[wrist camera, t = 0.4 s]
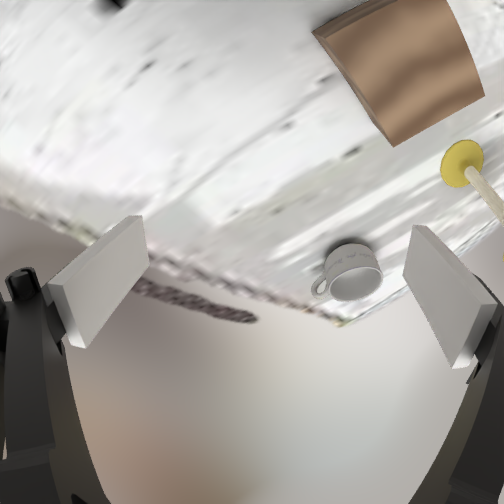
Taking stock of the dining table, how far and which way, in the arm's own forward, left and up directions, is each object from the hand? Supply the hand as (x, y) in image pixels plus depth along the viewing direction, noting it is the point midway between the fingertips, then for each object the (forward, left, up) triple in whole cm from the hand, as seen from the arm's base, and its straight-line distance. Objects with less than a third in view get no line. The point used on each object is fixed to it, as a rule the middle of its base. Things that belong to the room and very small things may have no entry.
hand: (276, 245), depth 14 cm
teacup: (+36, -9, -31) cm, 49 cm away
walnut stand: (+6, +17, -31) cm, 36 cm away
